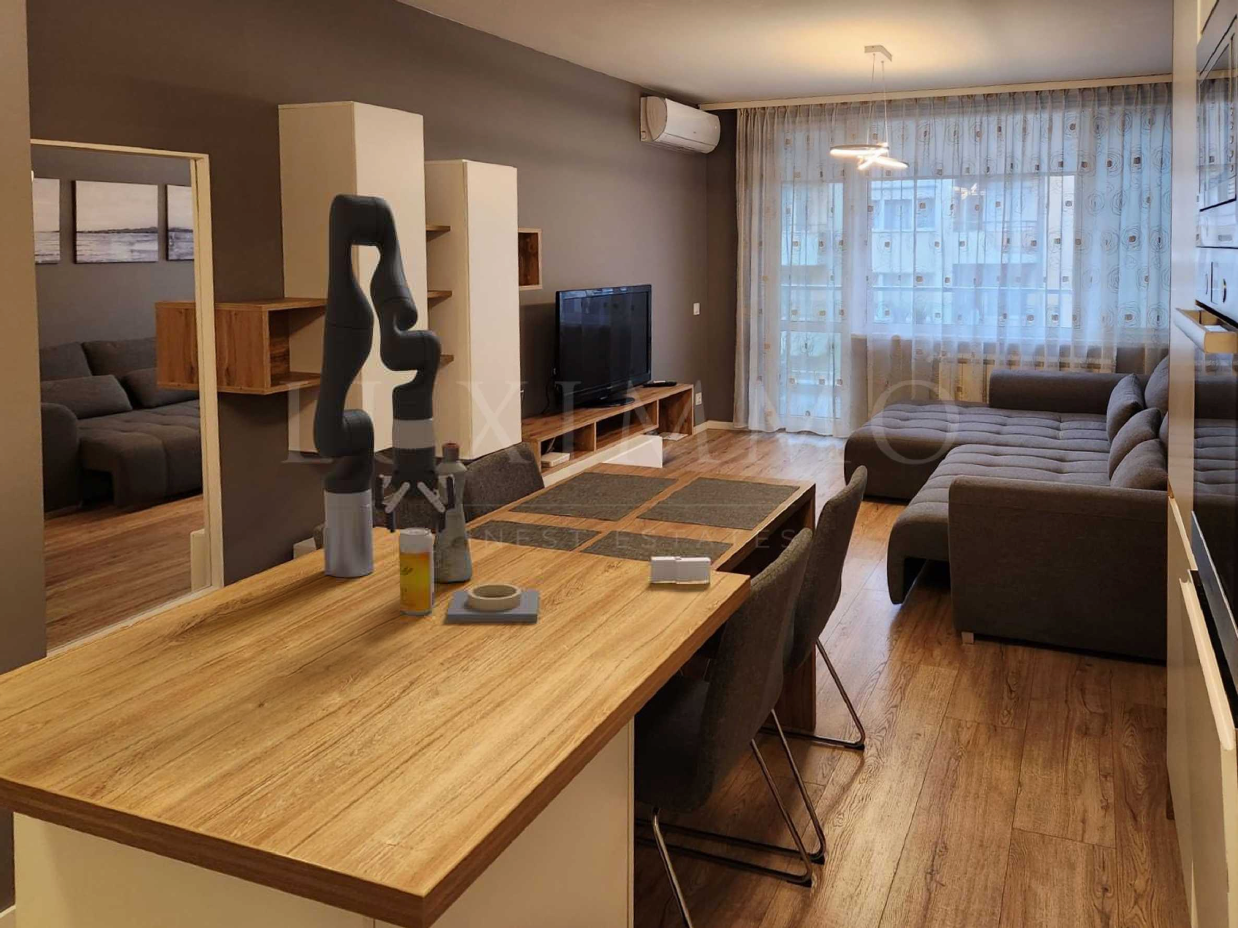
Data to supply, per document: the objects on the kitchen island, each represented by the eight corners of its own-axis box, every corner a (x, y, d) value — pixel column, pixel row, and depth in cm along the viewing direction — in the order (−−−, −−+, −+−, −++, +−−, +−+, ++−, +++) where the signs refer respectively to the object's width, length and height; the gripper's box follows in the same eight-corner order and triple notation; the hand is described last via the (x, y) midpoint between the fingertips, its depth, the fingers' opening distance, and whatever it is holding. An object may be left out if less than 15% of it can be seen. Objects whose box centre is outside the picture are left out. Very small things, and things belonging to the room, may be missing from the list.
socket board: (446, 622, 197) (446, 603, 196) (454, 597, 211) (454, 580, 210) (537, 621, 198) (537, 603, 197) (539, 597, 211) (539, 579, 211)
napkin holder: (724, 582, 224) (725, 555, 223) (698, 597, 214) (698, 568, 213) (659, 571, 231) (659, 544, 230) (631, 584, 222) (631, 556, 221)
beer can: (402, 605, 206) (400, 527, 203) (435, 605, 206) (434, 526, 203) (399, 616, 200) (396, 535, 197) (433, 615, 200) (431, 535, 197)
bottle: (437, 587, 217) (434, 446, 211) (423, 575, 225) (420, 439, 219) (479, 582, 221) (478, 443, 215) (464, 570, 229) (462, 436, 223)
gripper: (369, 447, 193) (373, 537, 196) (452, 446, 194) (454, 536, 197) (377, 440, 201) (380, 527, 203) (456, 439, 201) (458, 526, 204)
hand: (416, 531), depth 200 cm, fingers open, 8 cm apart
